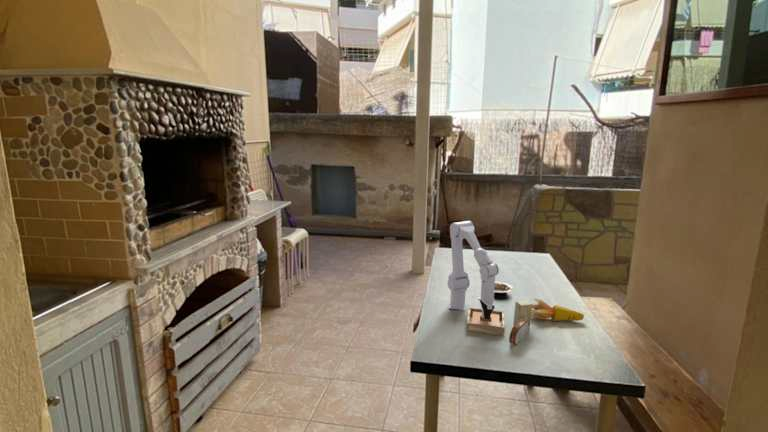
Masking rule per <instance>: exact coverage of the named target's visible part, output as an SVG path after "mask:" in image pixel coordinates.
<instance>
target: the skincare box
mask: <svg viewBox="0 0 768 432" xmlns="http://www.w3.org/2000/svg"><path fill="white" fill-rule="evenodd" d="M533 304H534V303H532V302H531V301H529V300H525V299H524V300H518V301H517V300H516V301H515V305H514V306H515V307H514V314H513V315H514V316H513V322H512V323H513V325H512V327H513V326H514V325H515V324H516V323H517V322H518V321H519V320H520V319H522V318H523V319H525V320H527V321H528V328H527V330H530V328H531V321H532V319H531V318H532V317H531V314H532V309H533V308H532V305H533Z"/></svg>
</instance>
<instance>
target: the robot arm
mask: <svg viewBox="0 0 768 432" xmlns="http://www.w3.org/2000/svg"><path fill="white" fill-rule="evenodd" d="M449 235H450V236H449V237H450V241H451V242H450V243H451V259H452V260H451V261H452V263H451V264H452V271H451V272H449V273H450V274H448V276H447V277H448V280H447V287H448V289H449V290H450V302H449V306H448V309H450V310H459V311H466V307H467V301H466V293H467V292H466V291H467V290H468V288H470V285H471V284H470V283H471V282H470V279H469V274H468V273H467V272H466V271H465V268H464V266H465V265H464V253H463V252H464V249H463V240H464V239H465V240H466V241H467V242H468V244H469V246H470V247H471V249H472V250H473V257H474V259H475V261H476V262H477V264H478V266H479V267H480V268H479V273H480V280H481V286H480V289H481V290H480V296H478V297H477V300H478V301H479V303H480V306H481V309H482V308H483V313H484V319H488V320H489V318H490V315H491V313H492V311H493V310H495V309H496V308H495V305H493V304H494V301H495V286H496V285H495V284H496V276H497V275H498V274H499V270H500V269H499V267H498V264H497V262H494V261H493V260H491V258H490V256H489V255H488V252H487V250H486V249H484V248H482V247H481V245H480V242H479V240H478V238H477V236H476V234H475V226H474V224H473V222H472V221H471V220H464V221H457V222H455V221H454V222H452V223H451V224H450V226H449Z"/></svg>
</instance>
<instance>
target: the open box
mask: <svg viewBox="0 0 768 432" xmlns="http://www.w3.org/2000/svg"><path fill="white" fill-rule="evenodd" d="M473 311H474V312H482V308H478V307H471V306H470V307H469V308H468V313H467V320H466V332H471V333H478V334H479V333H481V334H485V335H493V336H501V337H504V336H505V313H504V311H503V310H497V309H496V310H495V309H493V311H492V313H491V314H499V326H494V325H486V324H478V323H472V316H473Z"/></svg>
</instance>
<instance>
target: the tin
mask: <svg viewBox="0 0 768 432" xmlns="http://www.w3.org/2000/svg"><path fill="white" fill-rule="evenodd" d="M527 328H528V321H527V320H525V319H523V318H522V319H520V320H519V321H518V322H517V323H516V324H515V325H514V326H513V325H512V329H511V331H510V333H509V339H508V342H509V343H510V344H513V345H514V346H516V345H518V344H520V343H521V341H522V340H523V339H524V338H525V337H526V335H527V332H528V329H527Z"/></svg>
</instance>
